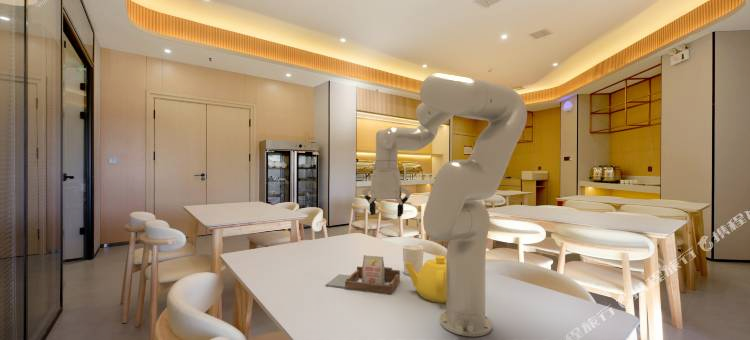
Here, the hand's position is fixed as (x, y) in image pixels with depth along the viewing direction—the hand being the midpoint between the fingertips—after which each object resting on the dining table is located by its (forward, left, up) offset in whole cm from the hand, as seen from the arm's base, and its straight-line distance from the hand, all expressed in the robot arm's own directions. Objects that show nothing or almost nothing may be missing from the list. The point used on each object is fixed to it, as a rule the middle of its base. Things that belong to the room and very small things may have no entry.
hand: (386, 215), depth 109 cm
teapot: (-4, -19, -24) cm, 31 cm away
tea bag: (-3, +4, -24) cm, 24 cm away
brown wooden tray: (-3, +4, -24) cm, 24 cm away
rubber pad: (-3, +15, -24) cm, 28 cm away
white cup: (+14, -7, -24) cm, 28 cm away
